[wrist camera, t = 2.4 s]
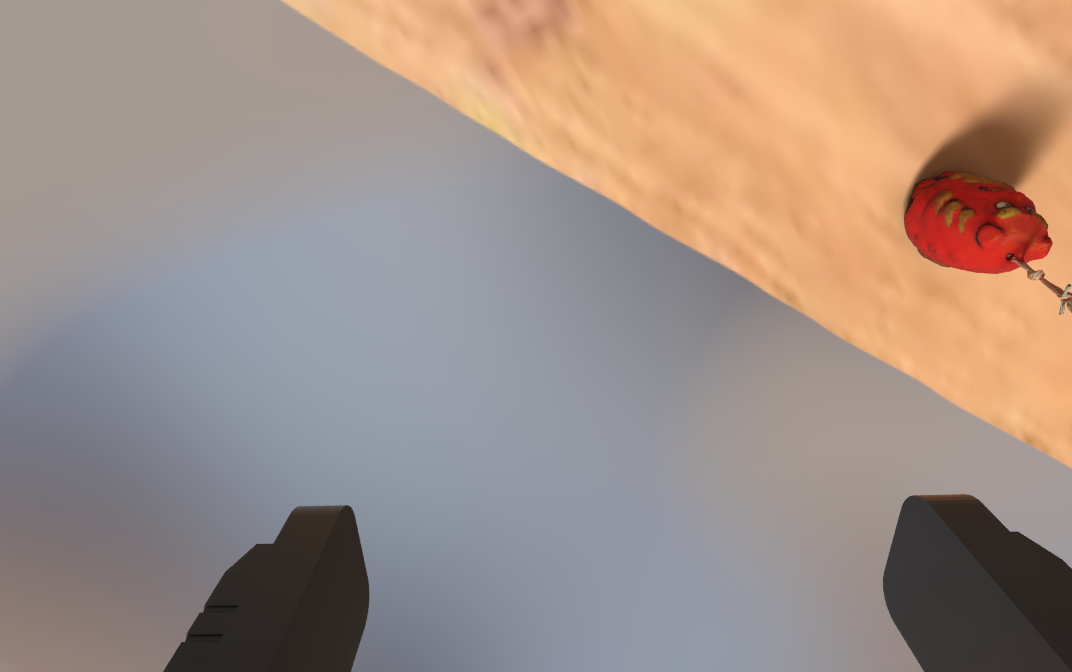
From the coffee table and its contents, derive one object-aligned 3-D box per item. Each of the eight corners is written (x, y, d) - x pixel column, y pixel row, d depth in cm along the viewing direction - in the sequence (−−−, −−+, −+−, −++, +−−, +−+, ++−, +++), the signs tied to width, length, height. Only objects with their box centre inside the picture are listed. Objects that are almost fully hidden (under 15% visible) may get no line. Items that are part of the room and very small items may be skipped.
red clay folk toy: (1005, 174, 48) (1191, 220, 34) (969, 260, 50) (1127, 335, 37) (910, 164, 47) (1059, 206, 34) (879, 251, 50) (1005, 322, 37)
